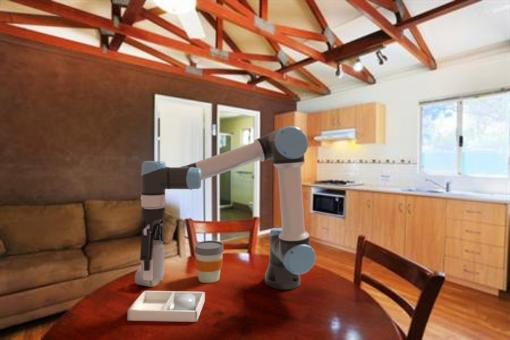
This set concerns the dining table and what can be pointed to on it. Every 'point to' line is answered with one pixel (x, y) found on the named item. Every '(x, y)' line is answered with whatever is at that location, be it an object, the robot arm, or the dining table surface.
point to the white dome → (184, 302)
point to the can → (156, 260)
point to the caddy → (163, 307)
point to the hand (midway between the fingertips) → (152, 274)
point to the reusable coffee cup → (209, 260)
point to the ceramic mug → (143, 282)
